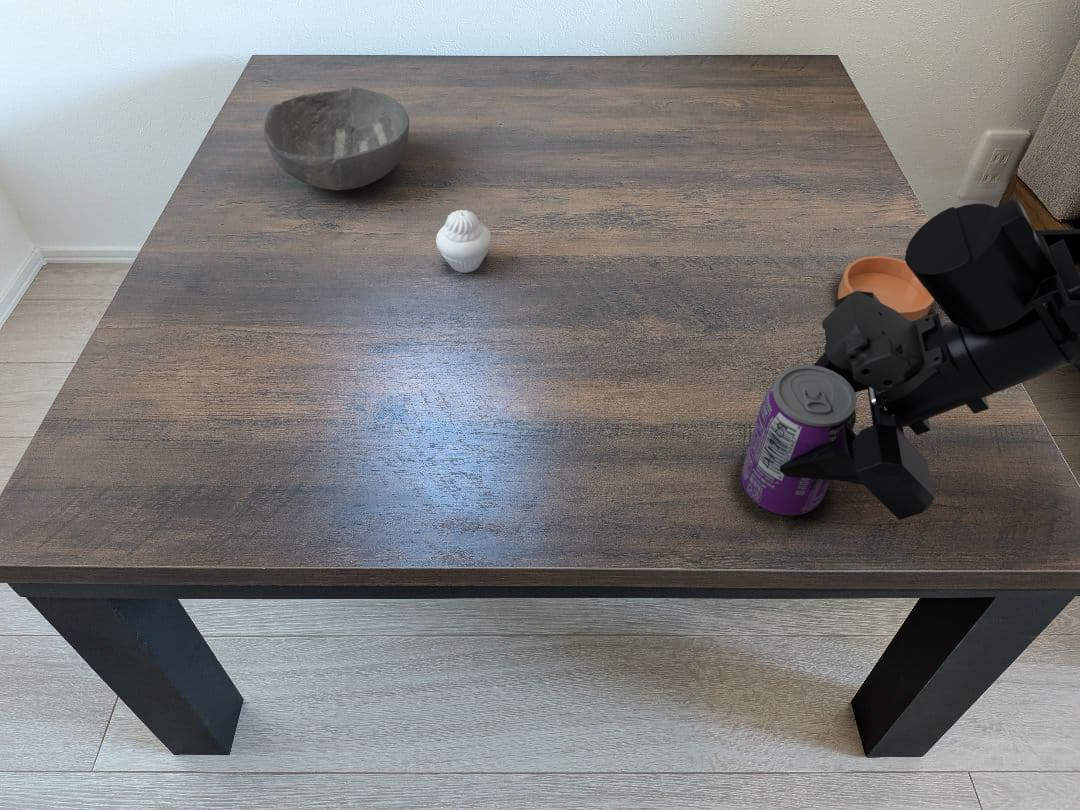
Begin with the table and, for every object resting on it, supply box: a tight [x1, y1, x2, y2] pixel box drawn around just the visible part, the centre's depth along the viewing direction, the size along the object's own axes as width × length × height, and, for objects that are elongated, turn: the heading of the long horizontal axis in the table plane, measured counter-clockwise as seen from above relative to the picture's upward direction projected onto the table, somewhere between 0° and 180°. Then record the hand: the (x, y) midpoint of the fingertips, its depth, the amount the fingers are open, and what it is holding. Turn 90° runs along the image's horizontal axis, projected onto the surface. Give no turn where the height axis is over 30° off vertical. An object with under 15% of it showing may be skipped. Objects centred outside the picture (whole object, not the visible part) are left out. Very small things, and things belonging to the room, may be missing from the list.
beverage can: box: [740, 364, 857, 516], centre depth 64 cm, size 7×7×12 cm
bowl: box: [263, 86, 410, 191], centre depth 99 cm, size 18×18×8 cm
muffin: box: [435, 209, 492, 274], centre depth 87 cm, size 6×6×7 cm
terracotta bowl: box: [837, 255, 935, 321], centre depth 85 cm, size 9×9×2 cm
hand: (781, 436), depth 64 cm, fingers closed on beverage can, 7 cm apart
